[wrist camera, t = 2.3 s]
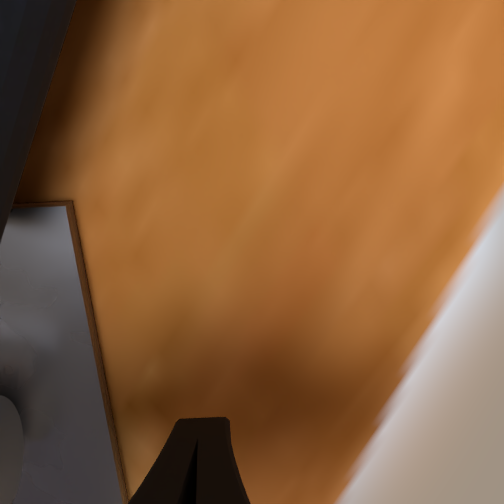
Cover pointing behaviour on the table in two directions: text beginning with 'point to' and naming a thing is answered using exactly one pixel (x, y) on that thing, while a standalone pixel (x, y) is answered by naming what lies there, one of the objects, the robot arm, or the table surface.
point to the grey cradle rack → (55, 362)
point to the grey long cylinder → (10, 450)
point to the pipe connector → (25, 81)
